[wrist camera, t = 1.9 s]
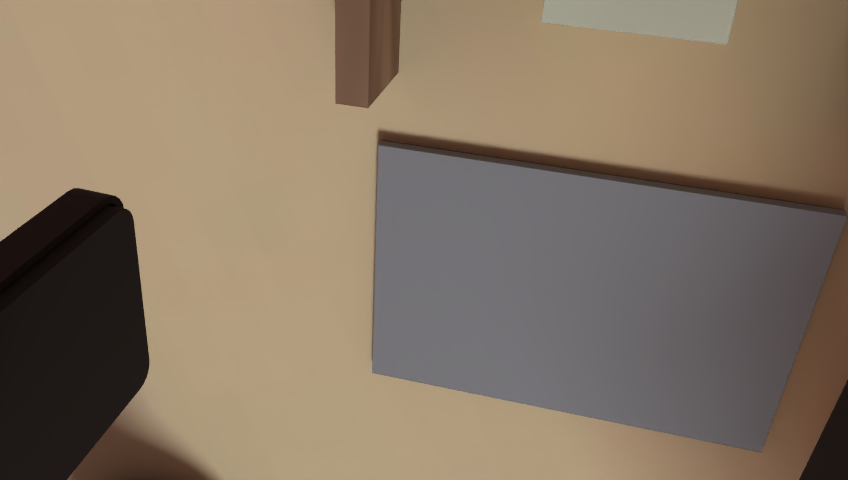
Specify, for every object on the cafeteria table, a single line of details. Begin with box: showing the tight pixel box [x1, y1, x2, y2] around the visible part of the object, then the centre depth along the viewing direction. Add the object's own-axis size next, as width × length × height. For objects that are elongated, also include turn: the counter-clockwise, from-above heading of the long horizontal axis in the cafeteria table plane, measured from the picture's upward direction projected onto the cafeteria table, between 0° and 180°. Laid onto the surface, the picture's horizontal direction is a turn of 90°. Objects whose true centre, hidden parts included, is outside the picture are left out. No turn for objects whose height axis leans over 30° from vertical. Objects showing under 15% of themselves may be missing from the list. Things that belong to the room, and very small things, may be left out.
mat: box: [372, 141, 847, 452], centre depth 35 cm, size 18×12×1 cm, turn 87°
